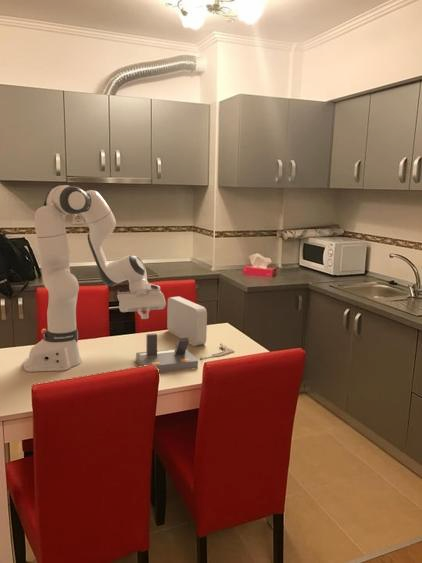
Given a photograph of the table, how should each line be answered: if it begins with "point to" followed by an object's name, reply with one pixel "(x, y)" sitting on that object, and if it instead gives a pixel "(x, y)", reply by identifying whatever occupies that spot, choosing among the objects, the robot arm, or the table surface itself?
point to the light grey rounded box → (187, 320)
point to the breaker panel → (168, 360)
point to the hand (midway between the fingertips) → (145, 318)
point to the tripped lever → (151, 345)
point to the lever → (181, 346)
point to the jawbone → (225, 352)
